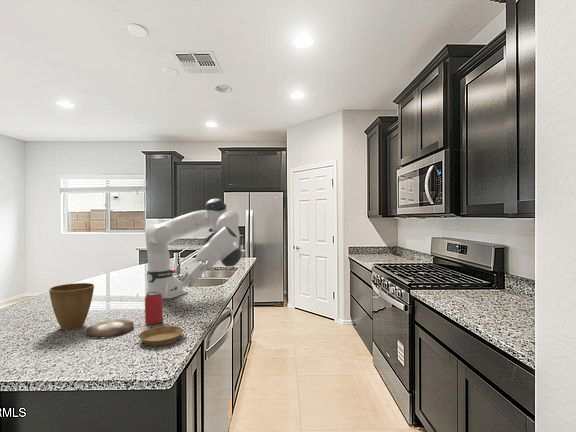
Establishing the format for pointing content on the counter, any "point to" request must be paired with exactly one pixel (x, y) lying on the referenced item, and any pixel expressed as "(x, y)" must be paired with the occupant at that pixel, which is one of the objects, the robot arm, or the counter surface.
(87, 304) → the plant pot
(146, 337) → the plant saucer
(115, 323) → the disc
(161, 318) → the beer can
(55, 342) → the counter surface
